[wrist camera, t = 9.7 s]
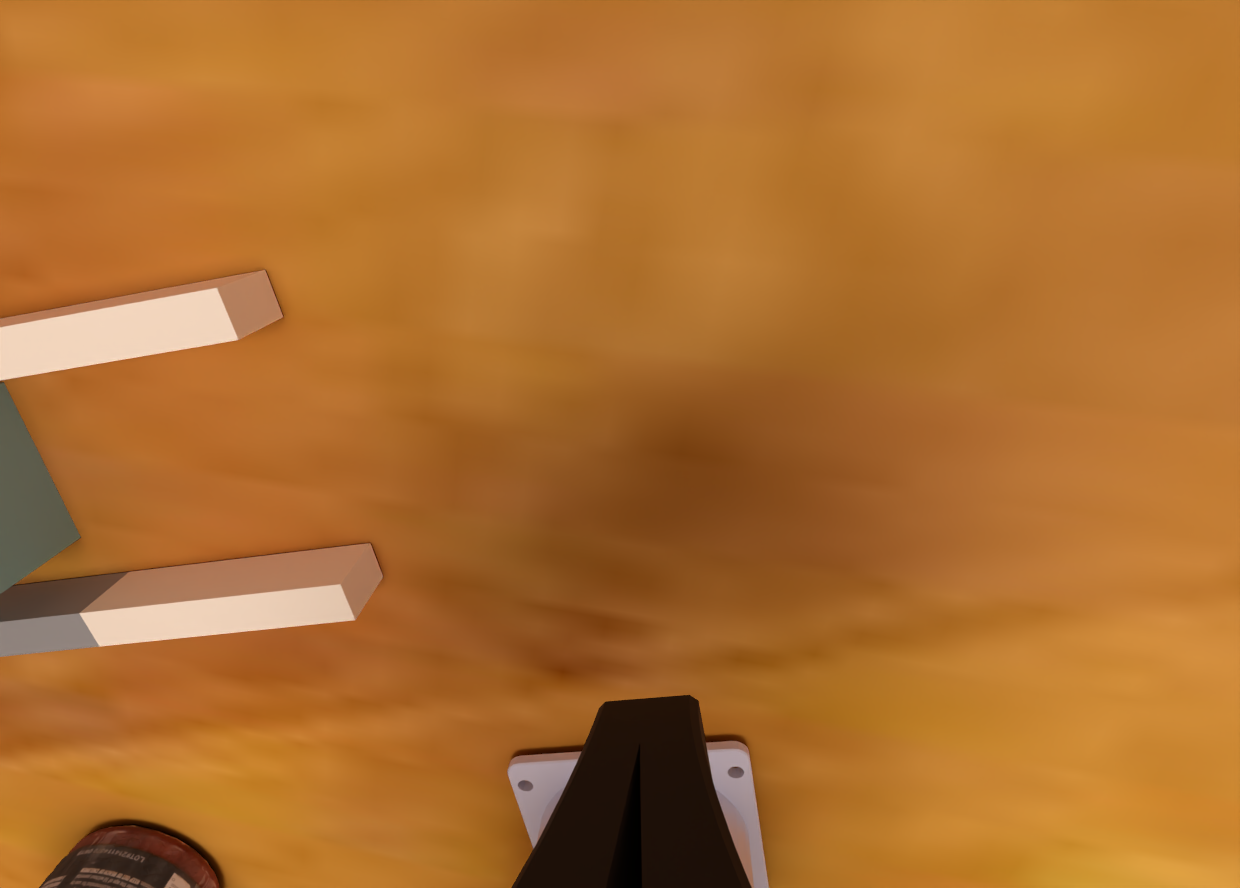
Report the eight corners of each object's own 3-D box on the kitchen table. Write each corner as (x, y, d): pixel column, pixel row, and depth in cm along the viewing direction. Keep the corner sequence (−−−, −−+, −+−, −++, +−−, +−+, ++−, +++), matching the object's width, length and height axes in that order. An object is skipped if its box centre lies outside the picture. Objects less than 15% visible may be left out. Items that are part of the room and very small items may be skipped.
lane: (383, 576, 21) (355, 620, 19) (-67, 626, 23) (-129, 669, 22) (265, 270, 17) (217, 287, 16) (-256, 365, 20) (-351, 391, 18)
